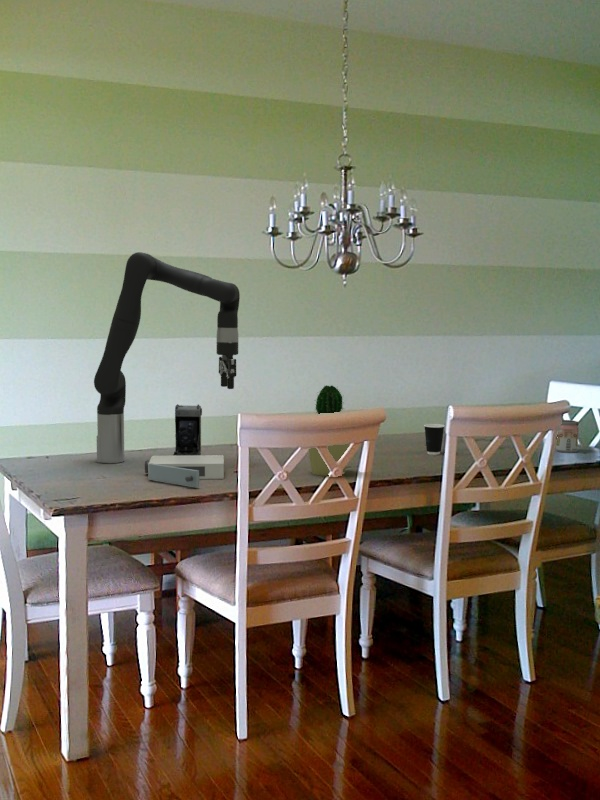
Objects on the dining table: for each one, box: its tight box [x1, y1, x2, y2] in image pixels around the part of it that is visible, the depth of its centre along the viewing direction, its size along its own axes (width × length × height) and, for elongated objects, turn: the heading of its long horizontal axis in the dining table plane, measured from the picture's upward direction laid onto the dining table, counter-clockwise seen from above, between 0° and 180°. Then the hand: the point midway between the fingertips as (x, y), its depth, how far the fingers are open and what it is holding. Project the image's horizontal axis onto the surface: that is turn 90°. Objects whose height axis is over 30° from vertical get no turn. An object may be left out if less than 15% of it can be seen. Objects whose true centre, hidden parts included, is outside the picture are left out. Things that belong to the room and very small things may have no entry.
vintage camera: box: [172, 404, 203, 456], centre depth 311 cm, size 10×16×20 cm, turn 2°
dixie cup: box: [423, 423, 446, 456], centre depth 331 cm, size 8×8×11 cm
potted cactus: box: [308, 384, 350, 477], centre depth 290 cm, size 15×15×30 cm
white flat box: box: [144, 454, 225, 481], centre depth 286 cm, size 26×16×5 cm, turn 95°
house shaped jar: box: [555, 419, 580, 454], centre depth 340 cm, size 9×8×12 cm
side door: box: [148, 463, 200, 488], centre depth 270 cm, size 21×3×5 cm, turn 55°
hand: (227, 387), depth 301 cm, fingers open, 8 cm apart
